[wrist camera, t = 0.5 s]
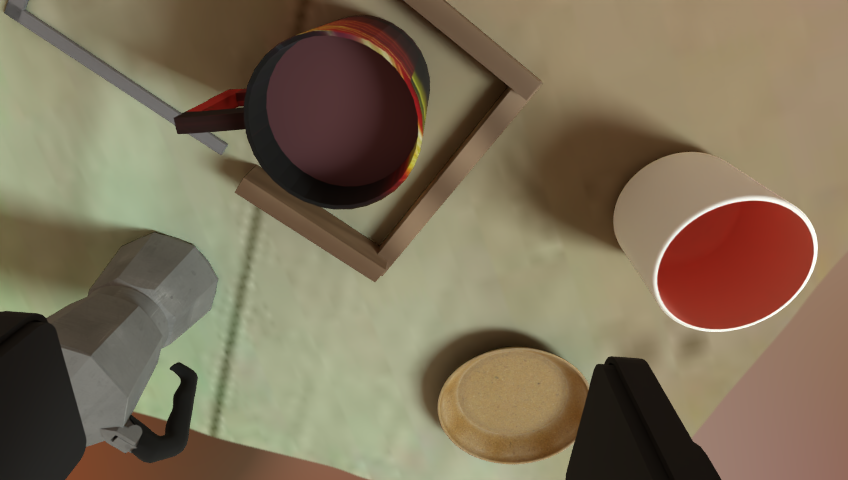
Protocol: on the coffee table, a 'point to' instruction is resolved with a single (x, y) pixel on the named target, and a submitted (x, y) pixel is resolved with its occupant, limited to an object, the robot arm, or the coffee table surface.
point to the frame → (103, 69)
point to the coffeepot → (135, 341)
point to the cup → (713, 242)
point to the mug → (330, 112)
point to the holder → (379, 258)
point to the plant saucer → (513, 405)
